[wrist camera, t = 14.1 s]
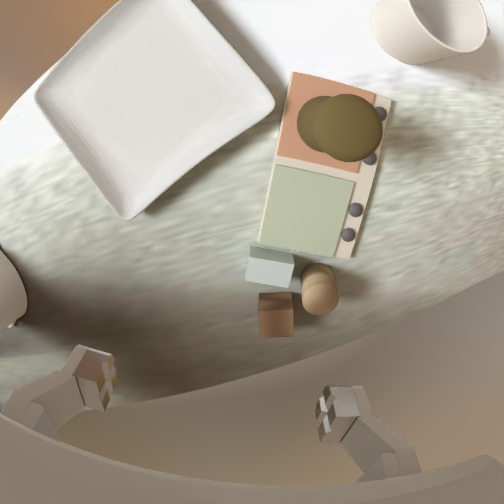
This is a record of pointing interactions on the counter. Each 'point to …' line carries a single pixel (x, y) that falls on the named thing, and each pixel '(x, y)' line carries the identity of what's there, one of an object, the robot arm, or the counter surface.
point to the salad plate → (149, 99)
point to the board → (316, 180)
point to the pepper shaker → (340, 126)
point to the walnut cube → (276, 314)
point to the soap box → (269, 267)
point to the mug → (428, 28)
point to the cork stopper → (318, 289)
